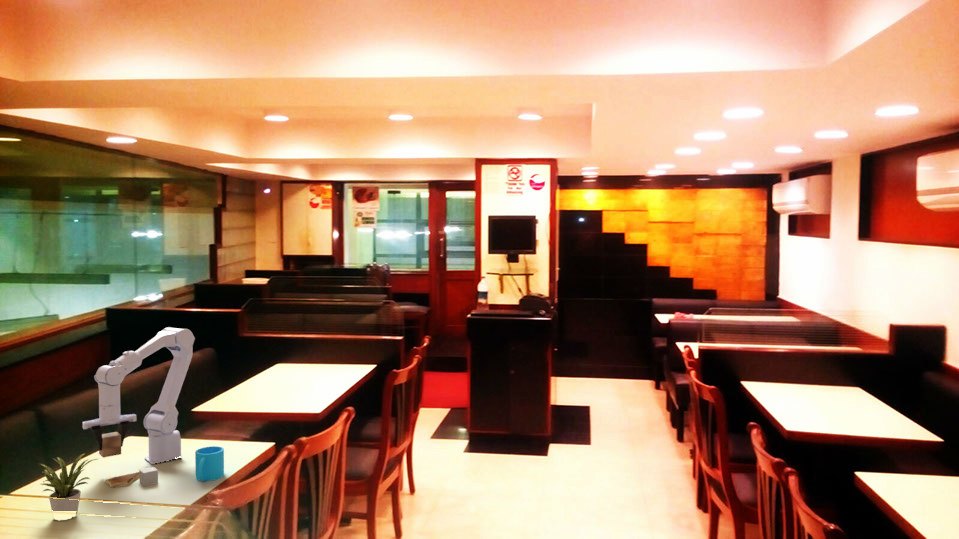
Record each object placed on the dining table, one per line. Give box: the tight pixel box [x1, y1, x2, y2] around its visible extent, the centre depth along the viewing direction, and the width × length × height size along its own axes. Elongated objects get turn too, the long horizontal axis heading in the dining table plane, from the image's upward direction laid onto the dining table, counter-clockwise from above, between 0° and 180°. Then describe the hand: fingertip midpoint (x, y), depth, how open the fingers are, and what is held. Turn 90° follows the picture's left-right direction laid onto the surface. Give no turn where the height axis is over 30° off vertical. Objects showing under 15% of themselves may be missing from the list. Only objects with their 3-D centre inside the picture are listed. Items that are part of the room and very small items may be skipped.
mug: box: [195, 445, 225, 482], centre depth 201 cm, size 12×8×8 cm
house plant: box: [40, 453, 98, 512], centre depth 173 cm, size 14×14×16 cm
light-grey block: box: [138, 466, 159, 487], centre depth 197 cm, size 4×4×4 cm
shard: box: [105, 471, 139, 488], centre depth 198 cm, size 11×8×2 cm
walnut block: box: [98, 431, 122, 458], centre depth 203 cm, size 5×5×6 cm
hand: (110, 447), depth 203 cm, fingers closed on walnut block, 5 cm apart
